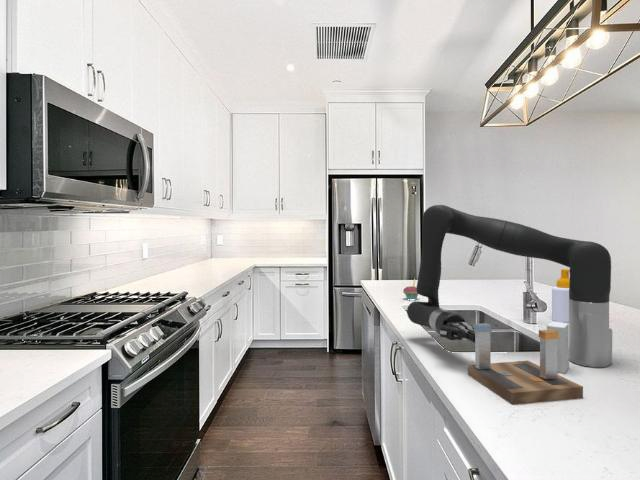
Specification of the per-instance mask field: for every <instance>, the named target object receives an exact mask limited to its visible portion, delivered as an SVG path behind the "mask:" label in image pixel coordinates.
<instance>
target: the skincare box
mask: <svg viewBox="0 0 640 480" xmlns="http://www.w3.org/2000/svg"><path fill="white" fill-rule="evenodd" d="M546 330H555V331H558V332H559V339H557V374H558V373H559V374H566V373H567V371H568V369H569V367H570V360H569V323H562V322H555V321H553V320H552V321H549V323H548V324H547V325H546Z"/></svg>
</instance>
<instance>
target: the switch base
mask: <svg viewBox="0 0 640 480" xmlns="http://www.w3.org/2000/svg"><path fill="white" fill-rule="evenodd" d="M467 375H468V376H469V377H471V378H472V379H474V380H475V381H477V382H478V383H480V384H481V385H483V386H484V387H486V388H487V389H489V390H490V391H492V392H493V393H495V394H496V395H497V396H499V397H501V398H502V399H503V400H505V401H507V402H508V403H510V404H511V405H520V404H530V403H531V404H533V403H542V402H543V403H544V402H553V401H554V402H555V401H561V400H562V401H565V400H566V401H567V400H573V399H574V400H575V399H584V386H583V385H580V384H578V383H576V382H574V381H572V380H570V379H568V378H565V377H564V376H561V375H560V374H558V373H557V379H544V378H542V377H540V365H539V364H536V363H534V362H532V361H530V360H517V361H504V362H491V369H480V370H479V369H478V368H476V367H475V364H468V365H467Z"/></svg>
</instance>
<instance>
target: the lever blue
mask: <svg viewBox="0 0 640 480" xmlns="http://www.w3.org/2000/svg"><path fill="white" fill-rule="evenodd" d="M492 326H493V325H492V324H489V323H488V322H485V323H484V322H483V323H473V327H474V331H475V343H474V344H475V345H474V346H475V347H474V349H475V350H474V356H475V357H474V358H475V359H474V363H475V364H474V365H475V367H476V368H478V369H479V370H480V369H491V363H492V362H491V332H492V329H493V328H492Z"/></svg>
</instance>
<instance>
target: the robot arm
mask: <svg viewBox="0 0 640 480" xmlns="http://www.w3.org/2000/svg"><path fill="white" fill-rule="evenodd" d="M421 225H422V226H421V227H422V240H421V241H422V243H421V244H422V245H421V255H420V263H419V270H418V276H417V283H416V287H417V288H416V290H417V293H418V295H420V296H423V297H425V298H427V299H428V301H417V300H415V301H412V302H411V303H409V304H408V306H407V308H406V313H407V317H408V319H409V320H410V321H411V322H412V323H413V324H417V325H418V326H419V325H420V326H424V327H427V328H429V329H431V330H433V331H434V332H435V333H437V334H439V337H441V338H445V339H447V340H451V341H456V340H457V341H462V340H464V341H471V343H472V342H473V343H474V344H475V331H474V325H472V324H471V323H467V322H466V320H465V318H463V316H462V315H460V314H458V313H456V312H453V311H450V310H449V309H443V308H441V307H440V301H439V299H440V298H439V289H440V282H441V276H442V250H443V249H442V248H443V244H444V240H445V238H446V234H450V235H456V236H460V237H464V238H467V239H470V240H472V241H475V242H476V243H479V244H481V245H483V246H485V247H488V248H490V249H493V250H496V251H499V252H503V253H507V254H511V255H514V256H515V255H516V256H519V257H524V258H525V257H526V258H531V259H534V258H535V259H540V260H545V261H549V262H550V261H551V262H553V263H556V264H559V265H562V266H565V267H566V268H569V270H570V272H569V279H570V285H569V323H568V324H569V362H571V363H574V364H576V365H580V366H584V367H589V368H590V367H592V368H607V367H609V365H613V330H612V328H610V295H611V288H612V286H611V285H612V283H611V282H612V258H611V254H610V252H609V249H607V248H606V247H605V246H604V245H602V244H600V243H597V242H594V241H588V240H587V241H585V240H579V239H573V238H566V237H559V236H556V235H552V234H549V233H547V232H545V231H541V230H539V229H537V228H534V227H531V226H528V225H525V224H521V223H517V222H513V221H508V220H504V219H499V218H494V217H486V216H480V215H474V214H470V213H466V212H464V211H462V210H458V209H455V208H453V207H451V206H448V205H444V204H435V205H431V206H429V207H428V208H426V209H425V210H424V212H423V215H422V224H421Z"/></svg>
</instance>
